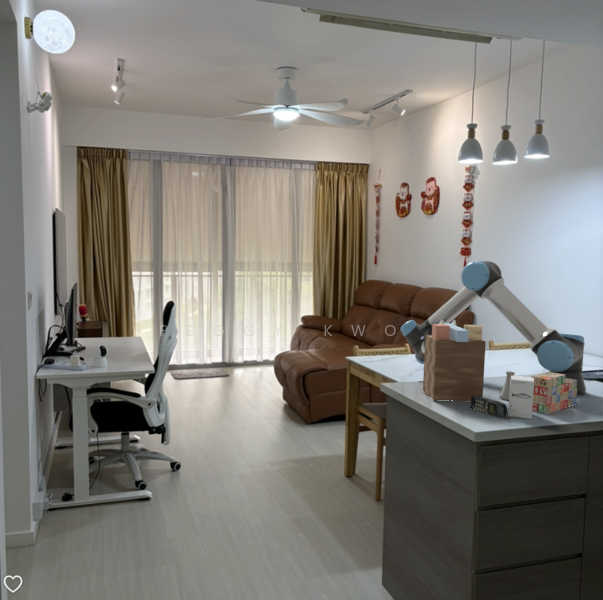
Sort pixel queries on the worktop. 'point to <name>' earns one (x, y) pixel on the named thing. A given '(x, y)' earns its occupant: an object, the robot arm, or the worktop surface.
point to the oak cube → (474, 332)
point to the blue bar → (458, 333)
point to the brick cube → (440, 331)
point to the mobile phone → (489, 406)
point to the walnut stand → (453, 369)
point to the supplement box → (521, 397)
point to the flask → (506, 386)
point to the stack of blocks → (553, 392)
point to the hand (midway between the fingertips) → (448, 323)
